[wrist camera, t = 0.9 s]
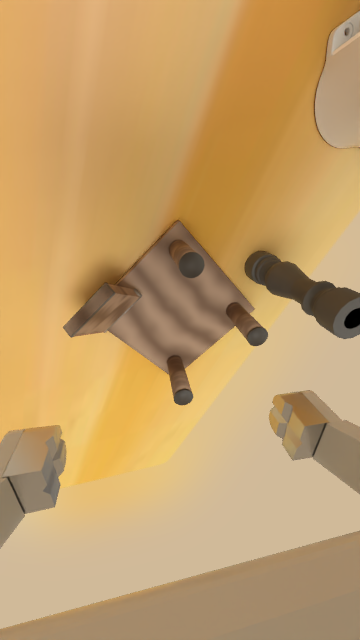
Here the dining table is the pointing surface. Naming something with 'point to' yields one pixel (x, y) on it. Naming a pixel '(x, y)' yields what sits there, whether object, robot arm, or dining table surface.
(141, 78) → the dining table surface
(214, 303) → the stool
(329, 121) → the robot arm
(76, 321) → the hinged leg
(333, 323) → the candle holder
